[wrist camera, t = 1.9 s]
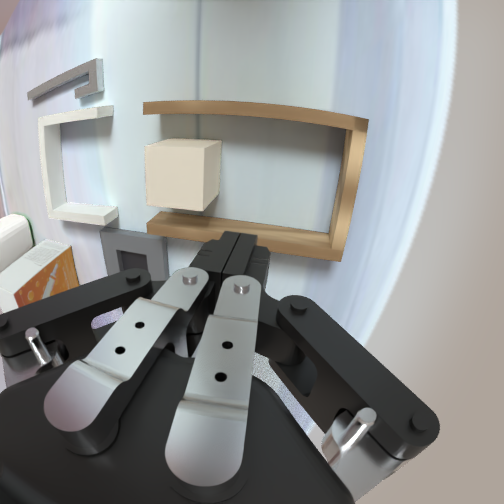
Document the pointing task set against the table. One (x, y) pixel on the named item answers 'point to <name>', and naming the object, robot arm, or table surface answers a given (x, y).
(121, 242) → the hole frame
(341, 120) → the wooden u-shaped frame
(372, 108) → the table surface
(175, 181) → the cream cube
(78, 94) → the crook tool
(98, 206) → the cream bay
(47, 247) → the small box
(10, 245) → the white rounded prism
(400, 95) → the table surface
